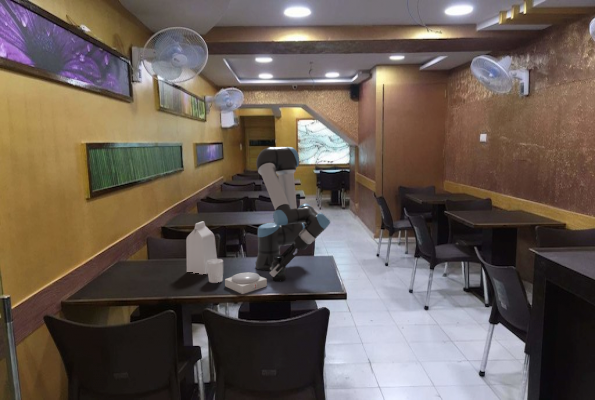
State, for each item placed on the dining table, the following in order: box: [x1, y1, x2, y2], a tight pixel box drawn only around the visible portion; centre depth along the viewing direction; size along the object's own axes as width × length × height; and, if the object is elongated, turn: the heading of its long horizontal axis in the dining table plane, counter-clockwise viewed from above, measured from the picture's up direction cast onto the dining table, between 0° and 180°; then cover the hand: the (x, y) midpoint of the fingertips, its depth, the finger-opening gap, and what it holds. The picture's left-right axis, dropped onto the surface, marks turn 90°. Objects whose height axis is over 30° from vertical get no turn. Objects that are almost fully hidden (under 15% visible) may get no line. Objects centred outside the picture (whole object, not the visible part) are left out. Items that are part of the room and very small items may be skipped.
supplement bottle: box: [271, 254, 287, 283], centre depth 200 cm, size 7×7×12 cm
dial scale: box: [224, 271, 268, 295], centre depth 192 cm, size 15×14×5 cm
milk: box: [185, 220, 218, 275], centre depth 216 cm, size 12×12×26 cm
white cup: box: [207, 258, 224, 284], centre depth 200 cm, size 8×8×10 cm
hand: (271, 272), depth 200 cm, fingers closed on supplement bottle, 7 cm apart
